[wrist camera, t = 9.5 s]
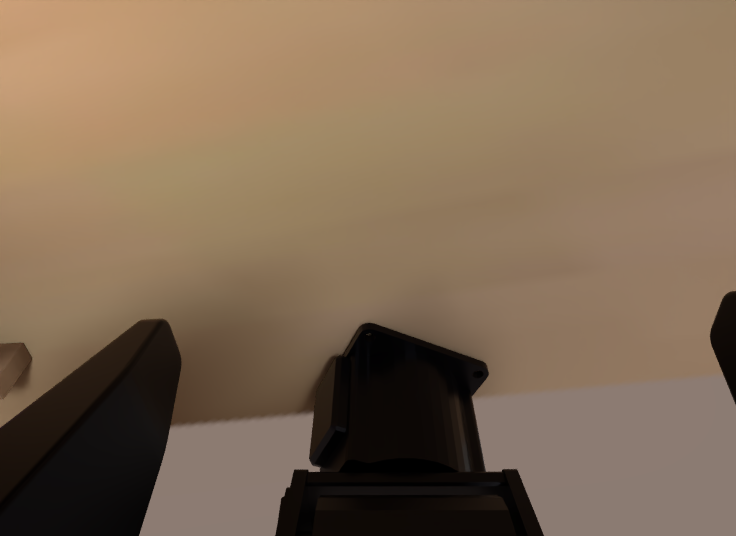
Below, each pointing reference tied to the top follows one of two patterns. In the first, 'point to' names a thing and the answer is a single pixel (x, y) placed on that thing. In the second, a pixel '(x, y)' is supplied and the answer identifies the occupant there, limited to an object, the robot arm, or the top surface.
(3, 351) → the guide bay
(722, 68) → the top surface
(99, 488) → the robot arm
